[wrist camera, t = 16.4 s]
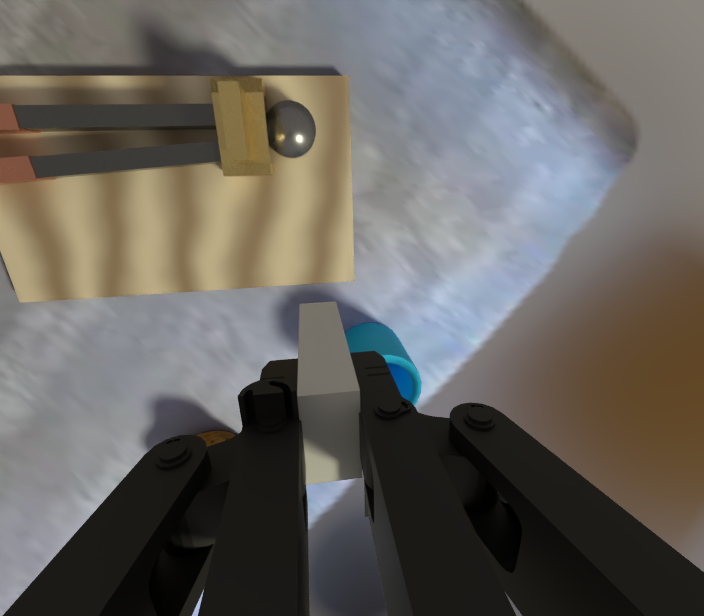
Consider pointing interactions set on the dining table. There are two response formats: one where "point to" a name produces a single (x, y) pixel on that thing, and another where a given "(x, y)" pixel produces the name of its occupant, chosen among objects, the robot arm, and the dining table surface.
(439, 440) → the robot arm
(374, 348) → the mug
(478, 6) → the dining table surface
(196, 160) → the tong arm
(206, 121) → the tong fixed
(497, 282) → the dining table surface
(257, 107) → the yellow stepped block
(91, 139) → the board
